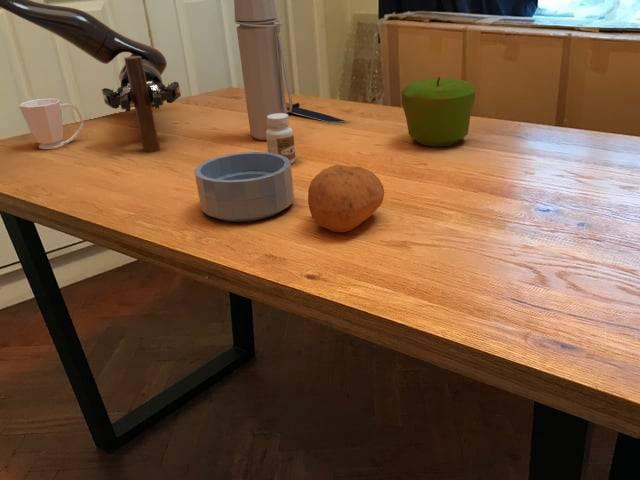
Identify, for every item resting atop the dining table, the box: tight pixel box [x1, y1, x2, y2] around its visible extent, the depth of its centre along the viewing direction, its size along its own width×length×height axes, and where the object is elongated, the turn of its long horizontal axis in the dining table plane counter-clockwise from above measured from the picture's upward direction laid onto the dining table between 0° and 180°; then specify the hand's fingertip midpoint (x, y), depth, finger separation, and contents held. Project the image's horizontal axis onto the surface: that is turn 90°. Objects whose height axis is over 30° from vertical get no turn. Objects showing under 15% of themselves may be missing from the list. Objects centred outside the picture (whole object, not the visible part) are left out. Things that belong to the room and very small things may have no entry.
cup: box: [18, 97, 84, 150], centre depth 123 cm, size 7×10×8 cm
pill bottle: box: [266, 113, 297, 165], centre depth 108 cm, size 4×4×8 cm
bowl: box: [193, 151, 295, 223], centre depth 91 cm, size 13×13×6 cm
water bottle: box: [233, 0, 293, 141], centre depth 118 cm, size 9×8×25 cm
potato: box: [307, 164, 385, 233], centre depth 85 cm, size 9×11×8 cm
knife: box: [286, 102, 346, 123], centre depth 138 cm, size 26×3×5 cm
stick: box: [123, 55, 161, 153], centre depth 115 cm, size 3×3×16 cm
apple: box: [400, 76, 476, 148], centre depth 115 cm, size 12×12×11 cm
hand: (141, 103), depth 113 cm, fingers open, 4 cm apart
